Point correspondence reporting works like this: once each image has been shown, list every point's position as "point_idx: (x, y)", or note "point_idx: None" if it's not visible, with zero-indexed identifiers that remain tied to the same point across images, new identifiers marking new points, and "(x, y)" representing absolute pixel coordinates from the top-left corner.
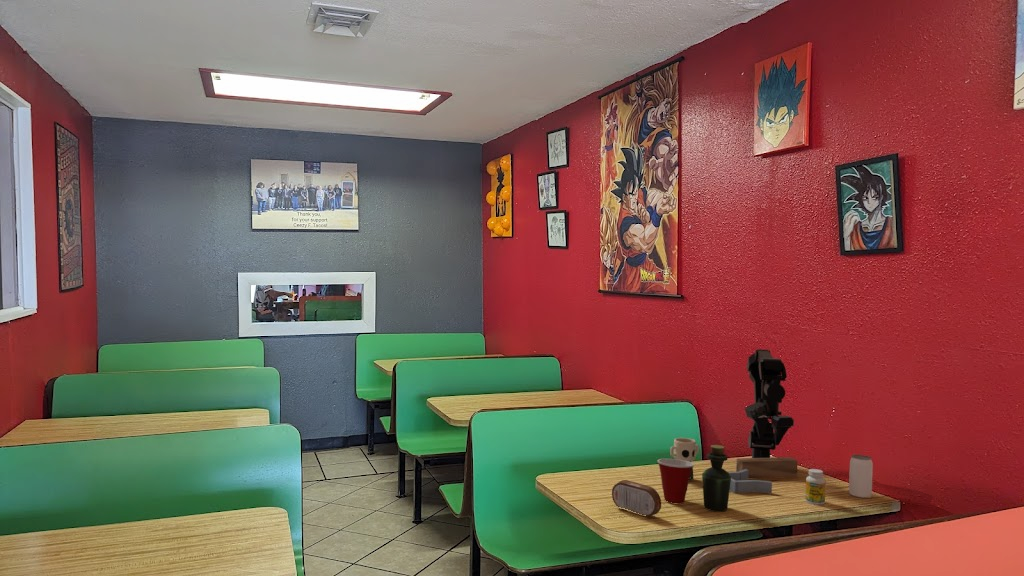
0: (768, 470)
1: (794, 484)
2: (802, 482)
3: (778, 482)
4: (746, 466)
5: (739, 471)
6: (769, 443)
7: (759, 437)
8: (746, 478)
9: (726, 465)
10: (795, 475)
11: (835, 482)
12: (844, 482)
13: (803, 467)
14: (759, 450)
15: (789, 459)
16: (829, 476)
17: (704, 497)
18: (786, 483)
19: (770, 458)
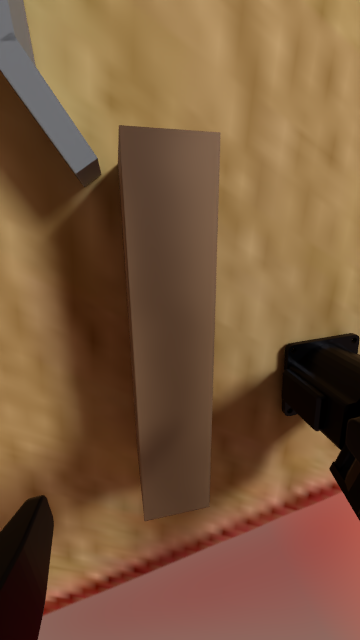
0: (130, 335)
1: (19, 402)
2: (57, 446)
3: (51, 340)
4: (121, 179)
5: (20, 57)
6: (353, 472)
7: (355, 420)
8: (67, 163)
9: (347, 210)
10: (137, 449)
11: (64, 558)
12: (65, 584)
13: (258, 508)
14: (355, 394)
15: (165, 488)
16: (144, 557)
17: None
18: (35, 372)
19: (194, 392)
